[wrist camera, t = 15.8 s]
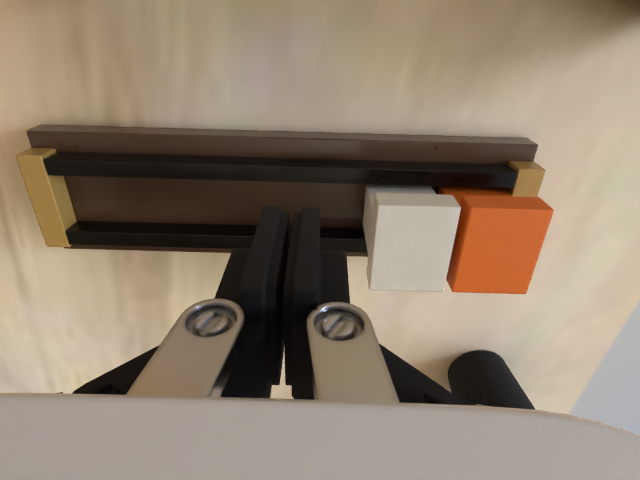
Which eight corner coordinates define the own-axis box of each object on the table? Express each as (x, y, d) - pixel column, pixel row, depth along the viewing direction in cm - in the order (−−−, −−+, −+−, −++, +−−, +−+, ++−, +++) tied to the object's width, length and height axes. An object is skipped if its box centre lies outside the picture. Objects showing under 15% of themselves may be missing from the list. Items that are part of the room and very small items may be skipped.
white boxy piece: (367, 166, 24) (377, 205, 20) (434, 168, 24) (461, 207, 20) (361, 239, 27) (369, 290, 22) (422, 241, 27) (443, 292, 22)
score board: (41, 124, 25) (25, 130, 24) (527, 137, 25) (538, 144, 24) (75, 238, 29) (63, 248, 28) (497, 249, 29) (505, 260, 28)
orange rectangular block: (441, 168, 24) (471, 207, 20) (508, 170, 24) (554, 209, 20) (428, 241, 27) (451, 292, 22) (489, 243, 27) (526, 294, 22)
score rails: (30, 147, 24) (14, 155, 23) (533, 161, 24) (545, 169, 23) (59, 235, 27) (46, 247, 26) (509, 248, 27) (518, 259, 26)
